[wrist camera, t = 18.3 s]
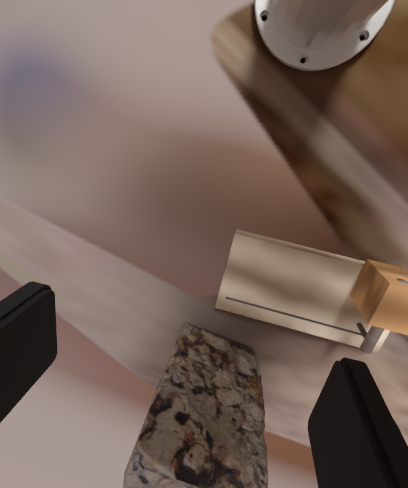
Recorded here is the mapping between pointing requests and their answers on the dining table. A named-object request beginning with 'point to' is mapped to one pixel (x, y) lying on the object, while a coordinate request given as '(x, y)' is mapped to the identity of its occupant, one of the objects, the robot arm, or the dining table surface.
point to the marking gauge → (381, 301)
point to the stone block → (203, 419)
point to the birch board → (293, 288)
